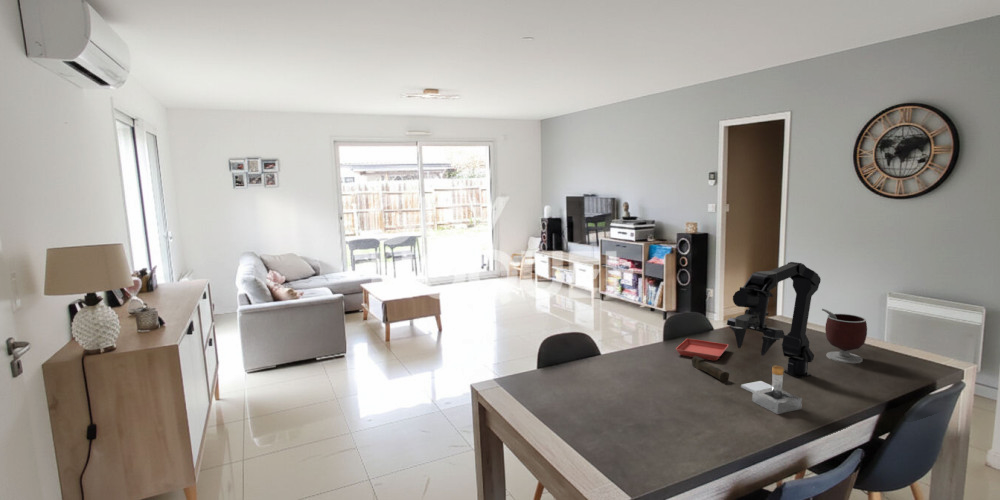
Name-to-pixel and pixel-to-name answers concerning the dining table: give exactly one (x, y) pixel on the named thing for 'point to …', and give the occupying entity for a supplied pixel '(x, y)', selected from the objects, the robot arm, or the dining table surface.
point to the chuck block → (777, 401)
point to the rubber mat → (756, 386)
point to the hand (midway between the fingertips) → (750, 351)
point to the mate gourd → (845, 336)
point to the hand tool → (709, 369)
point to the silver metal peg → (777, 382)
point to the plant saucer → (702, 349)
